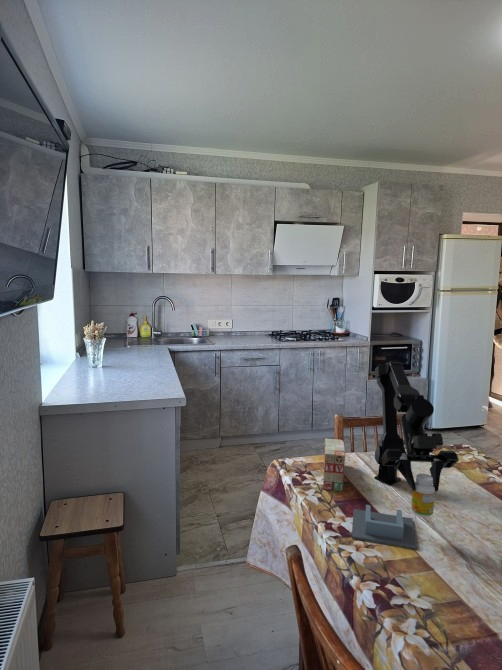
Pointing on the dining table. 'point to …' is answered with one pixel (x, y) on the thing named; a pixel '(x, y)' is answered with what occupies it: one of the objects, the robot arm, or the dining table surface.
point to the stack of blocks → (334, 465)
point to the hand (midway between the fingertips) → (425, 490)
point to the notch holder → (384, 528)
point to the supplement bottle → (423, 496)
